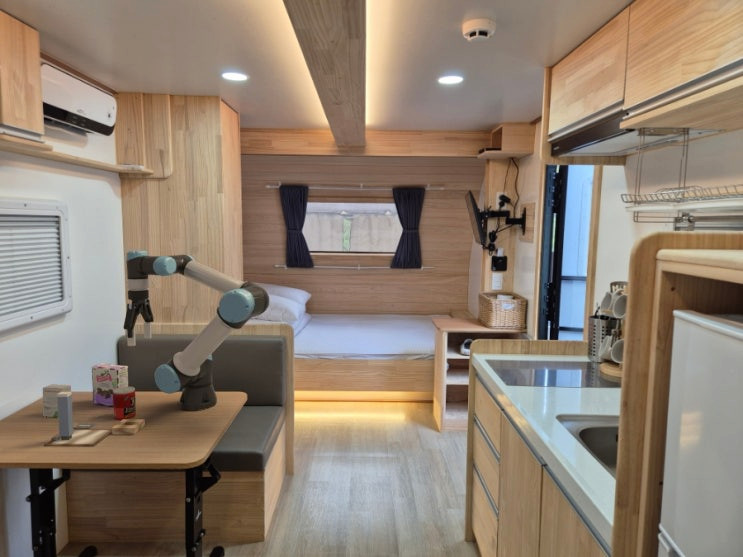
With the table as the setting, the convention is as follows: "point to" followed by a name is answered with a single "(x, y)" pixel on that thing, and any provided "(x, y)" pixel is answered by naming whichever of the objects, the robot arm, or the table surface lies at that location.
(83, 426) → the plate
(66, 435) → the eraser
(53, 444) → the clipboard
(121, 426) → the pen stand
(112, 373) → the candy box
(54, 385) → the ink box
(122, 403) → the canned food
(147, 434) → the table surface
